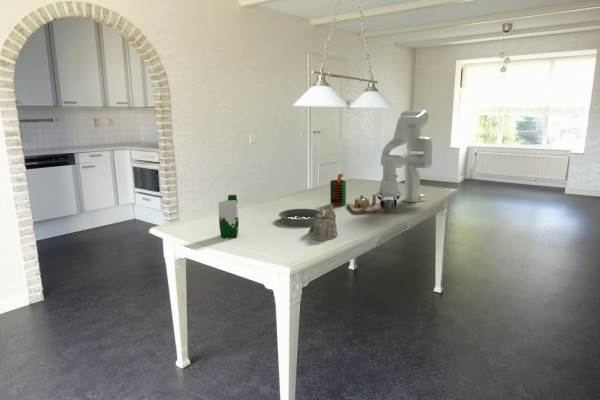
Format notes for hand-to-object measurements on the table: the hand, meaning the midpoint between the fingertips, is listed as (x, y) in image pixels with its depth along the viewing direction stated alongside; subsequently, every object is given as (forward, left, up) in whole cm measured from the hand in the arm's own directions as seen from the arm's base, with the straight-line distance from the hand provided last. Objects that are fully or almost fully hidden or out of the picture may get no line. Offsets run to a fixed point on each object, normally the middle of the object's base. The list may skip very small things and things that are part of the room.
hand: (388, 206), depth 246 cm
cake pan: (+54, +16, -3) cm, 56 cm away
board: (+9, -5, -3) cm, 11 cm away
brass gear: (+14, -9, -1) cm, 17 cm away
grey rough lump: (+47, +45, -3) cm, 65 cm away
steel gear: (0, 0, -1) cm, 1 cm away
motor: (+26, -23, -3) cm, 35 cm away
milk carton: (+91, +41, -3) cm, 100 cm away
